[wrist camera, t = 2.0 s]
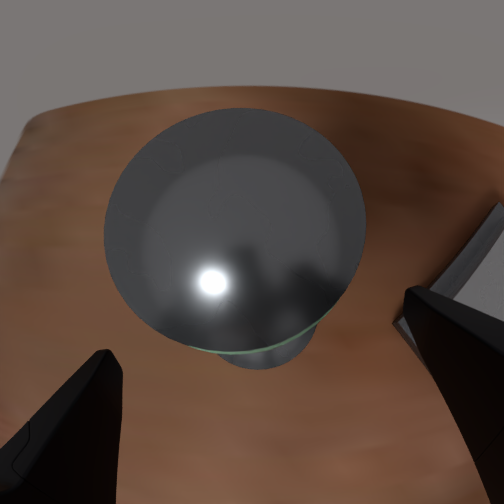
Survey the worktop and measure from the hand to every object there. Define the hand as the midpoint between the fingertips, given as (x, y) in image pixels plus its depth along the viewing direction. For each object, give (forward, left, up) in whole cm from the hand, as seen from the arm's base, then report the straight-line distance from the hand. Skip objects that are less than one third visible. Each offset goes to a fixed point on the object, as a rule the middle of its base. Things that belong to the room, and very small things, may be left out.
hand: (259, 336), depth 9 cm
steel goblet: (+2, -1, -10) cm, 10 cm away
